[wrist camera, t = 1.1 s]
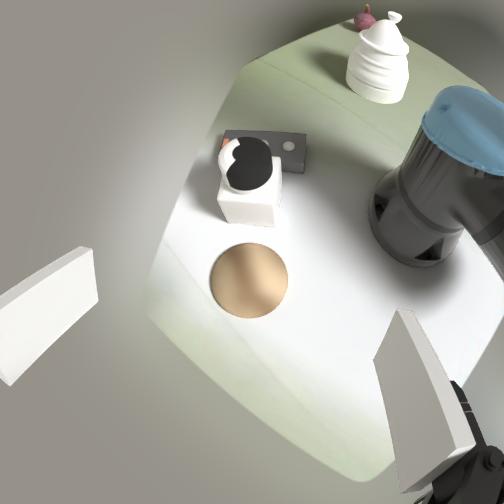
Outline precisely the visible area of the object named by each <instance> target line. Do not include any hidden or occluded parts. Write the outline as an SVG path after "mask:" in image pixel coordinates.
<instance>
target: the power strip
mask: <svg viewBox="0 0 504 504" xmlns="http://www.w3.org/2000/svg"><path fill="white" fill-rule="evenodd" d="M240 137H254V138H258V139H260V140H262V141H264V142H265V143H266V144H267V145H268V146H269V148H270V150H271V154H272V156H273V157H280V159H281V171H283V172H295V173H303V172H304V160H305V146H306V134H300V133H287V132H271V131H248V130H225V134H224V137H223V141H222V144H221V148H220V151H221V149H222V148H223V147H224V146H225V145H226V144H227V143H229V142H230V141H232V140H234V139H236V138H240ZM220 151H219V153H220ZM218 156H219V155H218ZM217 159H218V158H217Z"/></svg>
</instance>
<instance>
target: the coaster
mask: <svg viewBox="0 0 504 504" xmlns="http://www.w3.org/2000/svg"><path fill="white" fill-rule="evenodd" d="M287 285H288V274H287V270H286V266H285V264H284V262H283V261H282V259H281V258H280V256H279V255H278V254H277V253H276V252H275V251H273V250H272V249H270V248H269V247H267V246H264V245H261V244H257V243H245V244H241V245H237V246H235V247H233V248H231V249H229V250H228V251H227V252H225V253H224V254H223V255H222V256H221V257H220V259H219V260H218V261H217V263H216V265H215V267H214V270H213V273H212V290H213V293H214V296H215V298H216V300H217V301H218V303H219V304H220V305H221V306H222V307H223V308H224V309H225V310H226V311H227V312H229V313H231V314H233V315H235V316H237V317H241V318H257V317H261V316H264V315H266V314H268V313H270V312H271V311H273V310H274V309H275V308H276V307H277V306H278V305H279V304H280V303H281V301H282V300H283V298H284V296H285V293H286V290H287Z"/></svg>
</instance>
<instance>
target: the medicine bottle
mask: <svg viewBox="0 0 504 504" xmlns="http://www.w3.org/2000/svg"><path fill="white" fill-rule="evenodd" d="M218 165H219V168H220V170H221V173H222V178H221V182H220V186H219V190H218V195H217V201H218V204H219V206H220V208H221V210H222V212H223V214H224V216H225V218H226V220H227V222H228V223H233V224H244V225H254V226H265V227H277V223H278V216H279V208H280V200H281V192H282V171H281V159H280V157H273V156H272V154H271V150H270V148H269V146H268V145H267V144H266V143H265V142H264V141H262V140H260V139H258V138H254V137H240V138H236V139H234V140H232V141H230V142H229V143H227V144H226V145H225V146H224V147H223V148H222V149H221V151H220V153H219V156H218Z"/></svg>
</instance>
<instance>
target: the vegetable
mask: <svg viewBox="0 0 504 504" xmlns="http://www.w3.org/2000/svg"><path fill="white" fill-rule="evenodd" d="M354 23H355V25H356V26H357V27H358V28H359V29H360V30H361V31H362V30H365V29H369V28H370V27H371V26H372V25H373V24H375V23H376V21H375V19H374V18H373V17H372V16H371V15H370V9H369V6H368V4H366V11H365V12H364V13H360V14H357V15H356V16H355V18H354Z"/></svg>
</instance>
